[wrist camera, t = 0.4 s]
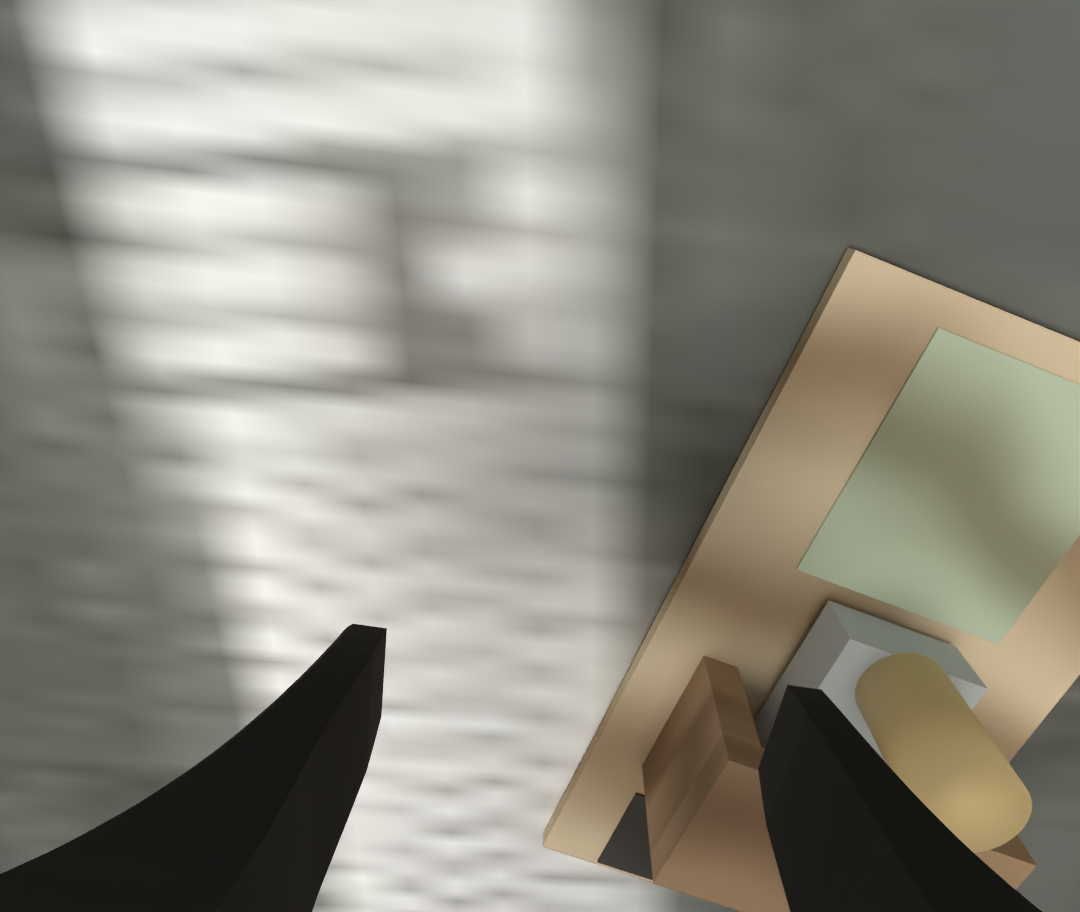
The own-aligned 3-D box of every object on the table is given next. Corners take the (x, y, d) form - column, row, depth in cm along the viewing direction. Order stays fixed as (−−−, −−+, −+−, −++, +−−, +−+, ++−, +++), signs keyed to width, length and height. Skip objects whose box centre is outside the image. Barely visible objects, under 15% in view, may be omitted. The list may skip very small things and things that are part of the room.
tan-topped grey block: (830, 823, 27) (901, 1015, 21) (715, 784, 26) (754, 969, 20) (961, 639, 24) (1089, 802, 18) (833, 592, 23) (920, 743, 17)
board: (853, 934, 30) (859, 951, 29) (543, 833, 29) (542, 849, 28) (1262, 417, 21) (1284, 425, 21) (848, 247, 20) (856, 250, 20)
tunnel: (883, 847, 27) (939, 976, 23) (641, 765, 26) (653, 883, 22) (960, 746, 25) (1036, 865, 21) (703, 655, 25) (728, 760, 20)
